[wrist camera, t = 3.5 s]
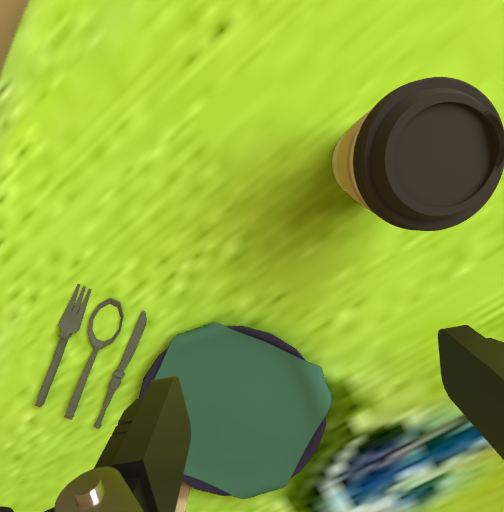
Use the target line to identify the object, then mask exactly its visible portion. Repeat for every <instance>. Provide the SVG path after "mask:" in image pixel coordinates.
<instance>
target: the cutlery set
mask: <svg viewBox="0 0 504 512" xmlns="http://www.w3.org/2000/svg"><path fill="white" fill-rule="evenodd" d="M79 287H80V284H77V287H76V289H75V292H74V294H73V296H72V298H71V300H70V302H69V304H68V306H67V309H66V311H65V313H64V314H63V316H62V318H61V321H60V322H59V324H58V326H59V327H60V329H61V330H62V332H61V334H60V335H59V337H61V338H60V341H59V343H58V346H57V349H56V352H55V355H54V358H53V361H52V363H51V366H50V368H49V371H48V374H47V376H46V378H45V381H44V383H43V386H42V388H41V391H40V393H39V396H38V399H37V401H36V404H35V406H38V407H41V406H42V405H43V404H44V403H45V399H46V397H47V394H48V391H49V389H50V386H51V384H52V381H53V379H54V377H55V374H56V371H57V369H58V366H59V363H60V361H61V358H62V355H63V353H64V350H65V347H66V344H67V341H68V339H69V338H70V337H71V333H76V332H77V331H79V329H80V325H81V321H82V319H83V315H84V312H85V309H86V306H87V302H88V299H89V296H90V292H91V289H90V288H89V290H88V292H87V294H86V297H85V299H84V301H83V303H82V305H81V301H82V298H83V295H84V291H85V288H86V287H85V286H83V288H82V291H81V293H80V295H79V298H78V300H77V302H76V304H75V300H76V297H77V294H78V290H79ZM74 304H75V306H74ZM108 304H111V305H113V306H116V307H118V310H119V314H120V317H121V320H120V326H119V330H118V331H117V332H116V334H115V335H114V337H113V338H111V339H109V340H107V341H105V342H103V341H101V340H98V339H96V337H95V335H94V333H93V330H92V328H93V319H94V317H95V316H96V314H97V313H98V311H99V310H100V309H101V308H103V307H105V306H106V305H108ZM80 305H81V307H80ZM73 307H74V308H73ZM79 308H80V309H79ZM122 321H123V312H122V308H121V304H120V302H119V301H116V300H114V299H112V298H109V299H108V300H106V301H104V302H102V303H101V304H99V305H98V306H97V308H96V310H95V311H94V313H93V314H92V316H91V317H90V322H89V328H88V335H89V338H90V341H91V344H92V346H93V347H94V350H93V352H92V355H91V357H90V359H89V361H88V363H87V366H86V368H85V370H84V372H83V375H82V377H81V379H80V381H79V384H78V386H77V388H76V391H75V393H74V395H73V397H72V400H71V402H70V404H69V407H68V409H67V411H66V415H65V416H64V417H66V418H68V419H71V420H72V418H73V417H74V412H75V411H76V408H77V405H78V402H79V400H80V397H81V394H82V391H83V389H84V386H85V383H86V380H87V378H88V375H89V373H90V370H91V368H92V365H93V362H94V360H95V357H96V354H97V352H98V350H99V349H102V348H104V347H106V346H108V345H109V344H111V343H113V341H114V340H115V338H116V337H117V335H118V334H119V332H120V331H121V326H122ZM145 325H146V313H145V311H142V313H141V316H140V318H139V320H138V323H137V325H136V328H135V330H134V332H133V335H132V337H131V340H130V342H129V345H128V347H127V349H126V352H125V354H124V357H123V359H122V361H121V364H120V366H119V369H118V370H115V371H114V372H113V375H114V378H113V379H112V380H111V382H110V383H109V392H108V395H107V397H106V400H105V403H104V406H103V409H102V411H101V414H100V416H99V418H98V420H97V422H96V423H95V425H94V426H93V427H96V428H98V429H100V427H101V422H102V419H103V416H104V414H105V411H106V409H107V407H108V405H109V403H110V401H111V398H112V396H113V394H114V392H115V390H116V389H117V388H118V386H119V385H120V383H121V380H120V379H121V378H123V377H124V375H125V373H124V372H123V371H124V369H125V368H126V366H127V365H128V363H129V361H130V360H131V358H132V356H133V354H134V352H135V350H136V347H137V345H138V343H139V340H140V338H141V336H142V333H143V331H144V328H145ZM172 376H177V377H178V379H179V381H180V384H181V388H182V392H183V396H184V400H185V404H186V408H187V411H188V415H189V419H190V425H191V442H190V447H189V451H188V456H187V460H186V465H185V469H184V474H183V478H182V482H184V483H186V484H187V485H189V486H191V487H193V488H194V489H197V490H201V491H206V492H210V493H214V494H218V495H222V496H232V495H233V496H235V497H237V498H241V499H246V498H251V497H254V496H257V495H260V494H264V493H267V492H270V491H273V490H277V489H280V488H283V487H285V486H286V485H287V484H288V482H289V480H290V478H291V477H293V476H294V475H296V474H297V473H299V472H300V471H301V470H302V469H303V468H304V466H305V465H306V464H307V463H308V461H309V460H310V459H311V458H312V456H313V455H314V454H315V453H316V451H317V449H318V446H319V444H320V441H321V438H322V435H323V432H324V429H325V427H326V414H327V412H328V410H329V408H330V405H331V400H332V399H331V392H330V390H329V388H328V386H327V384H326V381H325V378H324V375H323V371H322V368H321V367H320V366H317V365H315V364H312V363H309V362H307V361H306V360H305V359H304V358H303V357H302V355H301V354H300V353H299V352H298V351H297V349H295V348H293V347H292V346H290V345H289V344H287V343H285V342H284V341H282V340H281V339H279V338H277V337H276V336H274V335H273V334H271V333H267V332H263V331H259V330H256V329H252V328H248V327H244V326H223V325H221V324H219V323H216V322H213V323H211V324H208V325H204V326H203V327H201V328H196V329H194V330H193V331H187V332H185V333H182V334H177V336H176V337H175V338H174V339H173V340H172V342H171V344H170V345H169V348H168V349H167V350H165V351H164V352H163V353H161V354H160V355H159V356H158V358H157V359H156V361H155V362H154V364H153V365H152V367H151V368H150V370H149V371H148V373H147V374H146V376H145V377H144V379H143V383H142V387H141V392H140V396H139V399H141V398H143V397H144V395H145V393H146V391H147V389H148V387H149V385H150V383H151V381H152V380H155V379H161V378H166V377H172Z"/></svg>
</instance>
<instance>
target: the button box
mask: <svg viewBox="0 0 504 512" xmlns="http://www.w3.org/2000/svg"><path fill="white" fill-rule="evenodd" d="M189 491H190V486H189V485H187V484H186V483H184V482H182V483H181V487H180V492H179V496H178V501H177V505H176V510H175V512H185V511H186V506H187V501H188V496H189Z"/></svg>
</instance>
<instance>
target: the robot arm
mask: <svg viewBox="0 0 504 512" xmlns="http://www.w3.org/2000/svg"><path fill="white" fill-rule="evenodd" d="M438 344H439V355H440V366H441V376H442V382H443V385H444V388H445V390H446V392H447V394H448V396H449V397H450V399H451V400H452V401H453V402H454V403H455V405H456V406H457V407H458V408H459V409H460V410H461V411H462V413H463V414H464V415H465V416H466V417H467V418H468V419H469V421H470V422H471V423H472V424H473V425H474V426H475V427H476V429H477V430H478V431H479V432H480V433H481V434H482V435H483V437H484V438H485V439H486V440H487V441H488V442H489V443H490V445H491V446H492V447H493V448H494V449H495V450H496V452H497V453H498V454H499V455H500V456H501V457H502V458H503V460H504V343H503V342H501V341H498V340H495V339H492V338H485V337H483V336H482V335H481V334H479V333H478V332H476V331H475V330H474V329H472V328H471V327H469V326H468V325H462V326H457V327H451V328H446V329H441V330H439V332H438ZM190 442H191V425H190V419H189V415H188V411H187V408H186V404H185V400H184V396H183V392H182V388H181V384H180V381H179V379H178V377H177V376H172V377H166V378H161V379H155V380H152V381H151V383H150V385H149V387H148V389H147V391H146V393H145V395H144V397H143V398H141V399H136V400H135V401H134V402H133V403H132V404H131V405H130V406H129V407H128V408H127V409H126V410H125V411H124V412H123V414H122V416H121V418H120V420H119V422H118V426H116V428H115V430H114V431H113V433H112V436H111V437H110V439H109V441H108V443H107V445H106V447H105V449H104V450H103V452H102V454H101V456H100V458H99V460H98V462H97V464H96V466H95V468H94V469H92V470H90V471H87V472H85V473H83V474H82V475H80V476H78V477H77V478H75V479H74V480H73V481H71V482H70V483H69V484H68V485H67V486H66V487H65V488H64V489H63V490H62V492H61V493H60V494H59V496H58V498H57V500H56V503H55V507H54V508H52V509H49V510H47V511H45V512H175V510H176V505H177V501H178V496H179V492H180V487H181V483H182V478H183V474H184V469H185V465H186V460H187V456H188V451H189V447H190ZM0 512H14V511H13V510H12V509H11V508H9V507H0Z"/></svg>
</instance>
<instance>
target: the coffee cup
mask: <svg viewBox="0 0 504 512" xmlns="http://www.w3.org/2000/svg"><path fill="white" fill-rule="evenodd" d="M503 168H504V128H503V125H502V122H501V119H500V117H499V114H498V112H497V111H496V109H495V107H494V106H493V104H492V103H491V102H490V100H489V99H488V98H487V97H486V96H485V95H484V94H483V93H482V92H481V91H479V90H478V89H477V88H475V87H474V86H472V85H470V84H468V83H466V82H464V81H461V80H458V79H454V78H448V77H432V78H426V79H422V80H418V81H414V82H411V83H408V84H405V85H403V86H401V87H399V88H397V89H395V90H394V91H392V92H390V93H389V94H388V95H386V96H385V97H384V98H383V99H382V100H380V101H379V102H378V103H377V104H376V105H375V107H374V108H372V109H371V110H370V111H369V112H368V113H366V114H365V115H364V116H363V117H362V118H360V119H359V120H358V121H357V122H356V123H354V124H353V125H352V126H351V127H350V128H349V130H348V131H347V132H346V133H345V134H344V135H343V136H342V137H341V138H340V140H339V141H338V143H337V145H336V147H335V149H334V152H333V157H332V169H333V174H334V177H335V179H336V181H337V183H338V184H339V186H340V187H341V188H342V189H343V190H344V191H345V192H346V193H348V194H349V195H350V196H351V197H352V198H353V199H354V200H356V201H357V202H358V203H360V204H361V205H363V206H364V207H366V208H367V209H368V210H370V211H371V212H373V213H374V214H376V215H377V216H378V217H380V218H381V219H383V220H384V221H386V222H388V223H390V224H392V225H394V226H397V227H400V228H404V229H409V230H421V231H436V230H442V229H446V228H450V227H453V226H455V225H458V224H460V223H462V222H463V221H465V220H467V219H468V218H470V217H471V216H473V215H474V214H475V213H476V212H477V211H479V210H480V209H481V208H482V207H483V206H484V204H485V203H486V202H487V201H488V200H489V198H490V197H491V195H492V194H493V192H494V191H495V189H496V187H497V185H498V183H499V180H500V178H501V175H502V172H503Z"/></svg>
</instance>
